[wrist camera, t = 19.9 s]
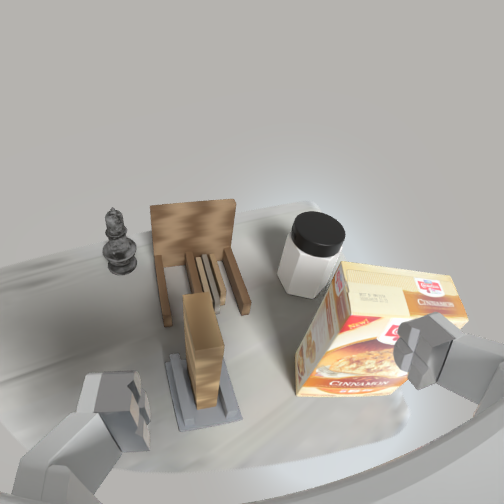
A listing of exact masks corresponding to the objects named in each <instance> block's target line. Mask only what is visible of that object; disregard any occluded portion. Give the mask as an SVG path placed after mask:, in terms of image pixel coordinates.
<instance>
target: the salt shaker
mask: <svg viewBox="0 0 504 504" xmlns="http://www.w3.org/2000/svg"><path fill="white" fill-rule="evenodd" d="M105 221H106V226H107V230H106V236H107V237H108V239H109V242H107V243H106V245H105V246H104V248H103V255H104V257H105V258H106V259H107V260H108V261H109V262H108V268H109V270H110V272H112V273H113V274H116V275H125V274H128V273H130V272H132V271H133V270H134V269H135V268H136V265H137V260H136V258H135V257H134V255H135V252H136V244H135V242H134V241H133V240H131V239H129V238H126V233H127V228H126V227H125V226H124V223H123V216H122V214H121V212H120V211H117V210H115V209H114V208H111V211H109V212H108V213H107V214H106V216H105Z"/></svg>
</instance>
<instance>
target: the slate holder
mask: <svg viewBox="0 0 504 504" xmlns="http://www.w3.org/2000/svg"><path fill="white" fill-rule="evenodd" d="M170 359H171V361H170V362H165V365H166V370H167V375H168V380H169V385H170V390H171V395H172V400H173V404H174V409H175V413H176V417H177V422H178V426H179V430H180V432H184V431H190V430H196V429H201V428H206V427H212V426H217V425H222V424H226V423H231V422H235V421H240V420H242V419H243V418H242V415H241V412H240V409H239V406H238V403H237V400H236V397H235V394H234V390H233V387H232V384H231V381H230V378H229V374H228V371H227V368H226V364H225V361H224V358H223V360H222V368H221V375H220V382H219V390H218V397H217V405H216V406H215V407H210V408H205V409H199V410H197V408H196V404H195V400H194V396H193V392H192V388H191V384H190V380H189V375H188V371H187V362H186V359H184V360H180V356H179V353H175V354H170Z"/></svg>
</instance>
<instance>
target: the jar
mask: <svg viewBox="0 0 504 504" xmlns="http://www.w3.org/2000/svg"><path fill="white" fill-rule="evenodd" d="M344 239H345V231H344V228H343V226H342V225H341V224H340V223H339V222H338V221H337V220H336V219H334V218H333V217H331V216H329V215H327V214H324V213H320V212H313V211H310V212H304V213H301V214H299V215H298V216H297V217H296V218H295V221H294V223H293V226H292V231H291V232H290V233H288V235H287V239H286V243H285V246H284V250H283V254H282V257H281V261H280V264H279V268H278V271H277V275H278V277H279V279H280V281H281V283H282V285H283V287H284V289H285V291H286V293H287V294H291V295H296V296H300V297H305V298H309V299H314V298H315V297H316V296H317V294H318V293H319V292H320V291H321V290H322V289H323V288H324V287H325V286H326V285H327V282H328V280H329V278H330V276H331V273H332V271H333V269H334V267H335V264H336V262H337V260H338V257H339V255H340V253H341V251H342V248H343V246H342V244H343V241H344Z"/></svg>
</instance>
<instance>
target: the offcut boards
mask: <svg viewBox="0 0 504 504" xmlns="http://www.w3.org/2000/svg"><path fill="white" fill-rule="evenodd" d="M196 268H197V272H198V276H199V280H200V284H201V287H202V291H203V292H209V294H210V298H211V301H212V305H213V308H214V312H215V314H219V313H220V305H225V298H226V288H225V285H224V282H223V279H222V276H221V273H220V270H219V267H218V264H217V260H216V257H215V254H210V256H209V261H208V258H207V254H203V255H202V260H201V257H196Z"/></svg>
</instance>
